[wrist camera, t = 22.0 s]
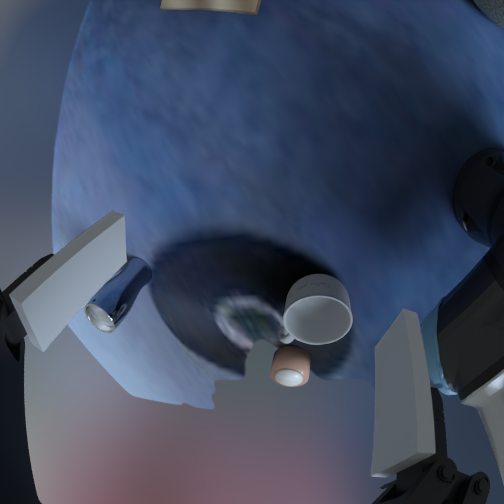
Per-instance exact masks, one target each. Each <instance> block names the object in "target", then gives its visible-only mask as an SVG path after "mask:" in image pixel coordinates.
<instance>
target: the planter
mask: <svg viewBox="0 0 504 504" xmlns="http://www.w3.org/2000/svg"><path fill="white" fill-rule="evenodd" d="M473 1H474V3H475V4H476V5H477V6H478V8H479V9H480V10H481V11H482V12H483V13H484V14H485V15H486V16H487V17H488V18H489V19H490V20H492V21H493V22H494V23H495V24H497V25H498V26H500V27H501V28H503V29H504V0H473Z"/></svg>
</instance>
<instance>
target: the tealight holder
mask: <svg viewBox="0 0 504 504" xmlns="http://www.w3.org/2000/svg"><path fill="white" fill-rule="evenodd" d="M310 362H311V357H310V354H309V353H308V352H307V351H306V350H304V349H302V348H300V347H296V346H285V347H281V348H279V349H278V350H277V351H276V352H275V353H274V357H273V362H272V366H271V371H270V377H271V379H272V380H273V381H275V382H276V383H278V384H280V385H283V386H287V387H296V386H300V385H303V384H305V383H306V382H307V381H308V379H309V371H310Z"/></svg>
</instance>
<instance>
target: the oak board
mask: <svg viewBox="0 0 504 504" xmlns="http://www.w3.org/2000/svg"><path fill="white" fill-rule="evenodd" d="M260 3H261V0H162V2H161V6H160V8H161V9H164V10H208V11H224V12H235V13H244V14H252V15H258V11H259V7H260Z"/></svg>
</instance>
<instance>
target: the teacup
mask: <svg viewBox="0 0 504 504" xmlns="http://www.w3.org/2000/svg"><path fill="white" fill-rule="evenodd" d="M352 322H353V317H352V312H351V308H350V301H349V296H348V293H347V290H346V289H345V287H344V285H343V284H342V283H341V282H340V281H339V280H337V279H336V278H334V277H332V276H329V275H325V274H312V275H308V276H305V277H303V278H301V279H299V280H298V281H297V282H296V283H294V284H293V286H292V287H291V289H290V290H289V293H288V295H287V299H286V305H285V312H284V315H283V325H284V326H283V327H282V329H281V330H280V333H279V340H280V341H281V342H283V343H285V344H288V343H290V342H292V341H293V340H294V338H295V339H296V340H298V341H301V342H304V343H307V344H314V345H319V344H327V343H331V342H334V341H336V340H338V339H340V338H342V337H343V336H344V335H345V334H346V333H347V332H348V331H349V329H350V328H351V326H352Z"/></svg>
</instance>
